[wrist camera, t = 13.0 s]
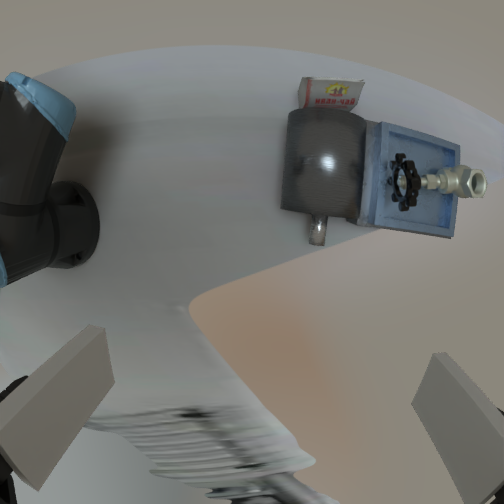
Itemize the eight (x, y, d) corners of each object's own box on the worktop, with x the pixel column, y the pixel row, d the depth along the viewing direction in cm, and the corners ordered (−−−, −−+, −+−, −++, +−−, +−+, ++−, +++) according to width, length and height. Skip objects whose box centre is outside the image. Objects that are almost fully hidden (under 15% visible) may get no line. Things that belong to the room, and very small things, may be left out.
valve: (457, 155, 29) (385, 154, 30) (487, 156, 22) (409, 152, 23) (459, 203, 30) (389, 207, 32) (489, 211, 24) (413, 216, 25)
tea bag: (297, 92, 36) (306, 64, 26) (342, 93, 35) (362, 67, 25) (300, 115, 36) (309, 92, 27) (345, 115, 36) (367, 94, 26)
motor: (276, 234, 40) (278, 247, 30) (286, 117, 37) (292, 94, 27) (431, 251, 39) (466, 267, 29) (441, 149, 36) (477, 143, 26)
